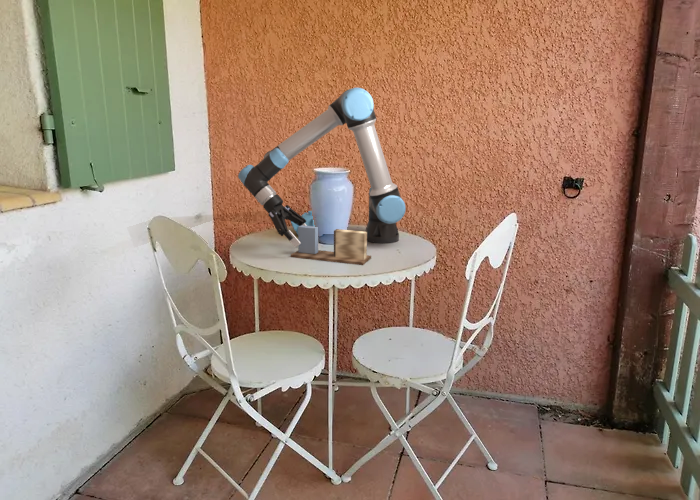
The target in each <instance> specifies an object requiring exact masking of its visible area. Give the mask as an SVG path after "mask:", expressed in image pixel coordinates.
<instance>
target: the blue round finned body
mask: <svg viewBox="0 0 700 500" xmlns="http://www.w3.org/2000/svg"><path fill="white" fill-rule="evenodd" d="M312 211H313V210H308V211H307V212H303V214H301V215H300V216H302V217H303V218H304V219H305V220H306V222H305V224H306V225H307V226H314V227H315V225H314V220H313V216H312ZM290 224H291V226H292V229H293V231H295V232H296V235H298V227H299V226H298V225H297V224H295V223H293V222H292V221H290Z"/></svg>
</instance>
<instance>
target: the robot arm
mask: <svg viewBox="0 0 700 500" xmlns="http://www.w3.org/2000/svg"><path fill="white" fill-rule="evenodd" d="M374 106H375V104H374V99H373V97H372V95H371V94H370V93H369V92H368V91H367V90H365V89H364V88H361V87H353V88H349V89H346V90H344V92H342V94H340V96H339V97H338V98H336V99H335V100H334V101H332V103H330V104H328V107H327V109H326V110H325V111H323V112H322V113H321V114H319V115H318V116H317V117H315V118H314V119H312V120H311V121H309V122H308V123H307V124H306V125H304V126H303V127H300V129H299V130H297V131H296V132H295V133H292V134H291V135H290V136H289V137H288V138H286V139H285V140H283V141H282V142H280V143H279V144H278V145H277V146H275V147H274V148H273V149H271V150H268V151H266V153H265V154H264V156H263V158H262V160H261V161H260V162H259V163H258V164H256V165H252V164H247V165H246V166H245V167H243V168H242V169H241V170H240V171H239V173H238V175H237V176H238V177H237V178H238V179H239V181H240V182H241V183H242V184H243V186H244V187H245V188H246V189H247V191H248V192H249V193H250V194H251V195H252V196H253V197H254V198H255V199H256V200H257V203H259V204H260V205H261V206H263V209H264V210H265V211H266V212H267V214H268V217H269V218H270V219H271V222H272V223H273V225H274V227H275V229H276V232H277V233H278V235H280V236H281V237H283V236H285V238H286V239H287V240H288V241H289V242H290V243H291V245H292V246H293V247H294V249H297V248H298V246H299V245H300V244H301V243H300V241H299V240H298V237H296V236H295V234H294V233H293V231H291V230H290V229H288V227H287V223H286V221H287V220H288V221H289V222H291V221H292V222H293V223H295V224H297V225H298V226H301V225H303V226H307V225H306V224H305V222H306V220H305V219H304V218H303V217H302V216H301V215H300V213H298V212H296V210H294V209H293V208H291V206H290V205H288V204H287V205H285V206H284V205H283V204H284V199H282V197H280V195H279V194H277V191H276V190H275V189H274V188H273V187H272V186H271V184H269V183H268V182H269V181H270V180H271V179H272V178H273V177H274V176H276V175H277V174H278V173H279V172H280V171H282V169H284V168H285V167H286V165H288V164H289V161H291V160H292V159H293V158H295V157H297V156H298V155H299V154H301V152H303V151H304V150H306V149H307V148H308V147H310V146H311V145H313V144H314V143H316V142H318V141H319V140H320V139H321V138H323V137H325V135H327V134H329V133H330V132H331V131H332V130H334V129H335V128H337V127H338V126H343V125H346V127H347V129H348V130H350V131H352V132H353V135H354V139H355V141H356V145H357V149H358V151H359V155H360V157H361V160H362V163H363V166H364V170H365V173H366V176H367V178H368V179H367V180H368V181H369V182H368V183H369V185H370V187H369V190H368V222H367V225H366V227H365V231H364V232H367V242H369V243H370V242H371V243H375V244H376V243H378V244H388V243H390V244H391V243H396V242H398V241H399V240H400V233H399V230H398V227H397V223H399V221H401V220H402V219H403V218H404V216H405V214H406V209H407V208H406V207H407V206H406V203H405V201H404V200H403V198H402V196H401V194H400V191H399V187H398V185H397V184H396V183H394V182H393V181H392V178H391V174H390V171H389V168H388V164H387V161H386V158H385V156H384V152H383V149H382V145H381V142H380V139H379V136H378V133H377V130H376V126H375V123H376V121H377V115H376V113H375V112H376V111H375V109H374Z"/></svg>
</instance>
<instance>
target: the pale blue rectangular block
mask: <svg viewBox="0 0 700 500" xmlns="http://www.w3.org/2000/svg"><path fill="white" fill-rule="evenodd" d="M297 236H298V237H297V239H298V240H299V241H300V243H301V244H300V245H299V246H297V248H298V250H297V251H298V252H300V253H310V254H316V253H318V250H319V237H318V227H314V226H303V225H301V226H299V227H298V234H297Z"/></svg>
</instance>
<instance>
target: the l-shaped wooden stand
mask: <svg viewBox="0 0 700 500" xmlns="http://www.w3.org/2000/svg"><path fill="white" fill-rule="evenodd" d="M367 244H368V241H367V232H365V231H362V230H352V229H351V230H350V229H340V228H336V229H334V230H333V251H331V250H330V251H329V250H321V249H320V250H319V249H318V253H316V254H310V253H300V252H298V250H296V251H294V252H293V253H291V254H290V258H295V259H303V260H311V261H314V260H315V261H322V262H331V263H338V264H339V263H341V264H347V265H348V264H349V265H357V266H364V265H365V264H366V263H368V262H369V261H370V260H371V259H372V255H368V254H367V252H368V251H367V250H368V248H367V247H368V245H367Z"/></svg>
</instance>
